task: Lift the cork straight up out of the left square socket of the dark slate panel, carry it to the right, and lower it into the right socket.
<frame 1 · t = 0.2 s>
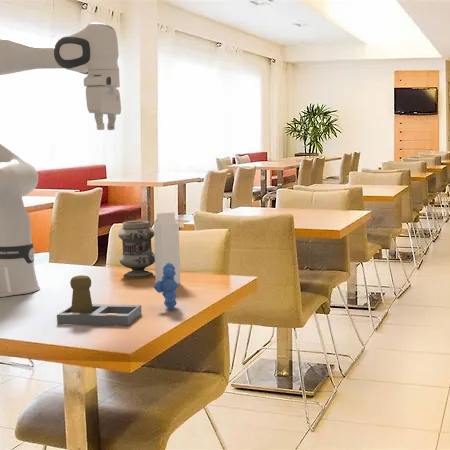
hand: (106, 130, 217), 48 cm above the table, fingers open, 8 cm apart
apothecary jar: (138, 276, 248), on the table
panel: (100, 319, 189), on the table
grapes: (166, 309, 199), on the table
milk: (168, 283, 234), on the table
cork: (82, 319, 190), resting in panel
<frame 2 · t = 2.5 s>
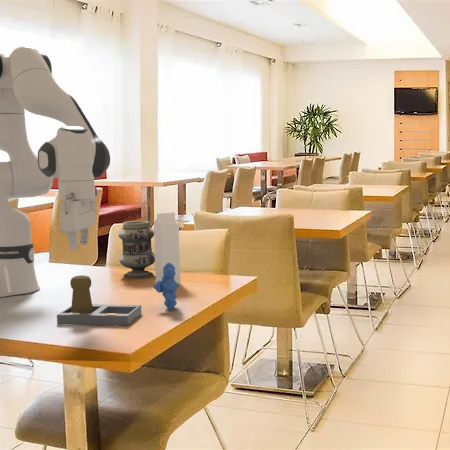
hand: (79, 247, 188), 18 cm above the table, fingers open, 8 cm apart
nothing on the table moved.
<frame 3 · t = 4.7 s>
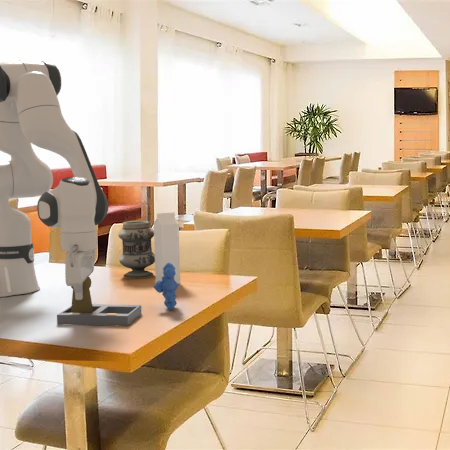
hand: (81, 297, 189), 6 cm above the table, fingers closed on cork, 4 cm apart
cork: (82, 319, 190), resting in panel, touching gripper
everything else where it was.
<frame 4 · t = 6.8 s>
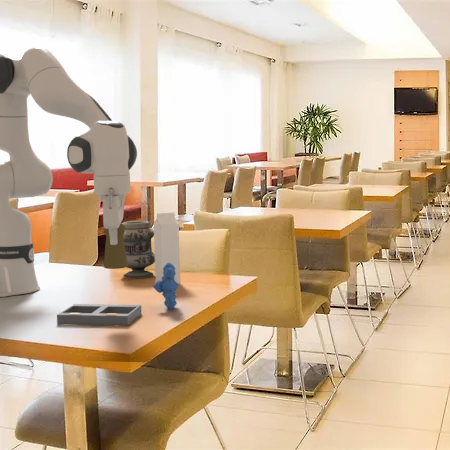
hand: (114, 243, 186), 19 cm above the table, fingers closed on cork, 4 cm apart
cork: (115, 267, 187), point 13 cm above the table, touching gripper
everything else where it was.
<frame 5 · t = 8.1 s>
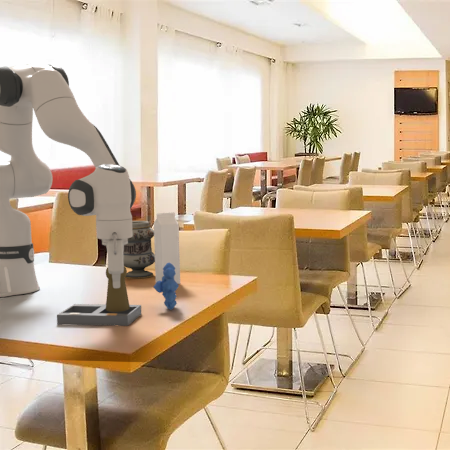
hand: (116, 285, 187), 9 cm above the table, fingers closed on cork, 4 cm apart
cork: (117, 309, 188), point 2 cm above the table, touching gripper
everything else where it was.
when the fingers open (6 cm above the table, at t = 8.9 s): cork stays where it is, resting in panel.
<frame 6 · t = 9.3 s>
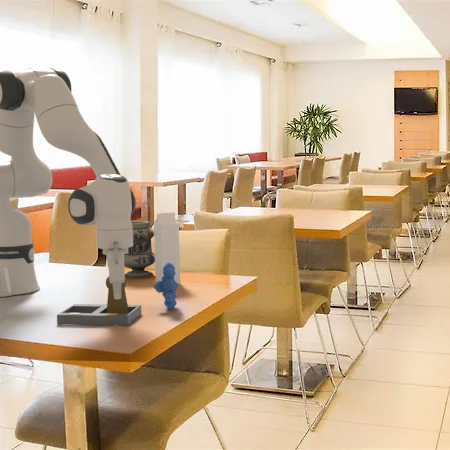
hand: (117, 294, 187), 6 cm above the table, fingers open, 8 cm apart
cork: (118, 319, 189), resting in panel
everything else where it was.
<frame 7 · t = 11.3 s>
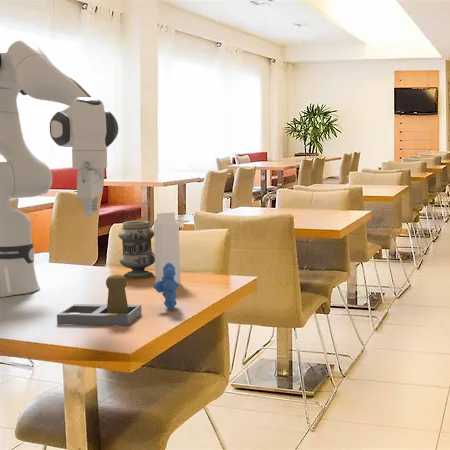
hand: (91, 214, 196), 26 cm above the table, fingers open, 8 cm apart
nothing on the table moved.
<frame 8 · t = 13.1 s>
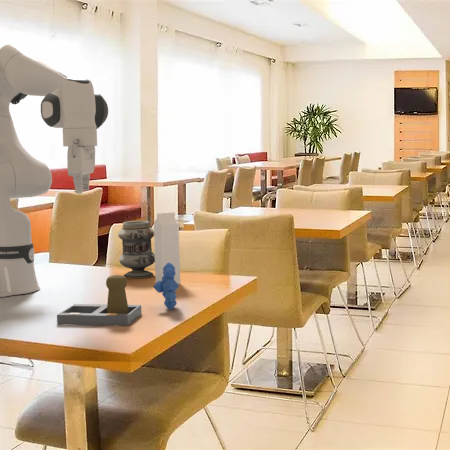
hand: (82, 192, 199), 31 cm above the table, fingers open, 8 cm apart
nothing on the table moved.
at the end: cork 0.9 cm from the target spot on the panel, point 0.0 cm above the panel's base; cork tilted 0°; the gripper is holding nothing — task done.
